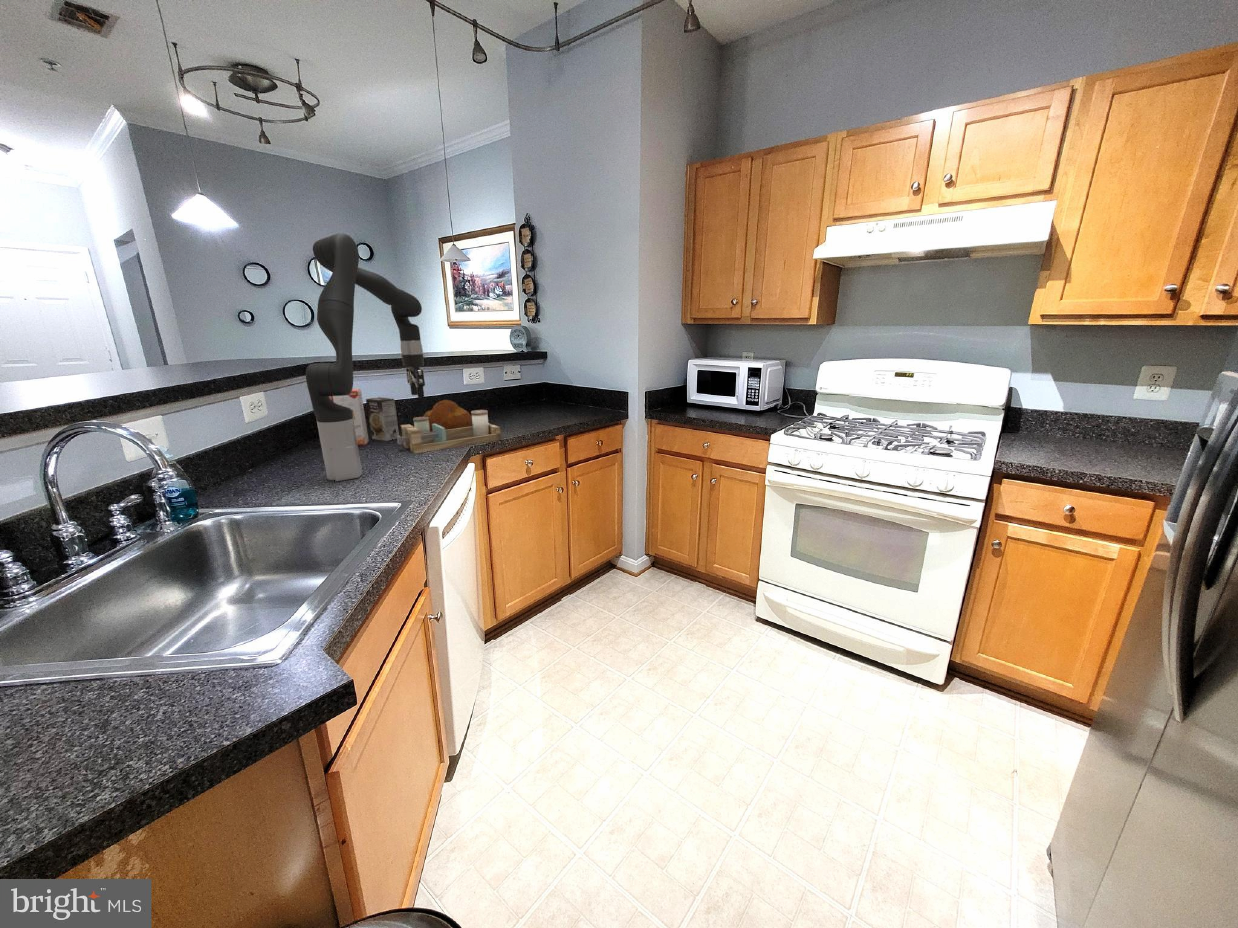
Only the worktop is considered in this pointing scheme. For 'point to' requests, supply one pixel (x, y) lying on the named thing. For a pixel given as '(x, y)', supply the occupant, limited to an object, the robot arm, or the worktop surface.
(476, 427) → the jar cream
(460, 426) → the bread
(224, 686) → the worktop surface
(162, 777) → the worktop surface
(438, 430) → the pusher
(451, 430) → the wooden tray
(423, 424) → the jar sage
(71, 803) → the worktop surface
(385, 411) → the coffee box
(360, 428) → the cracker box
